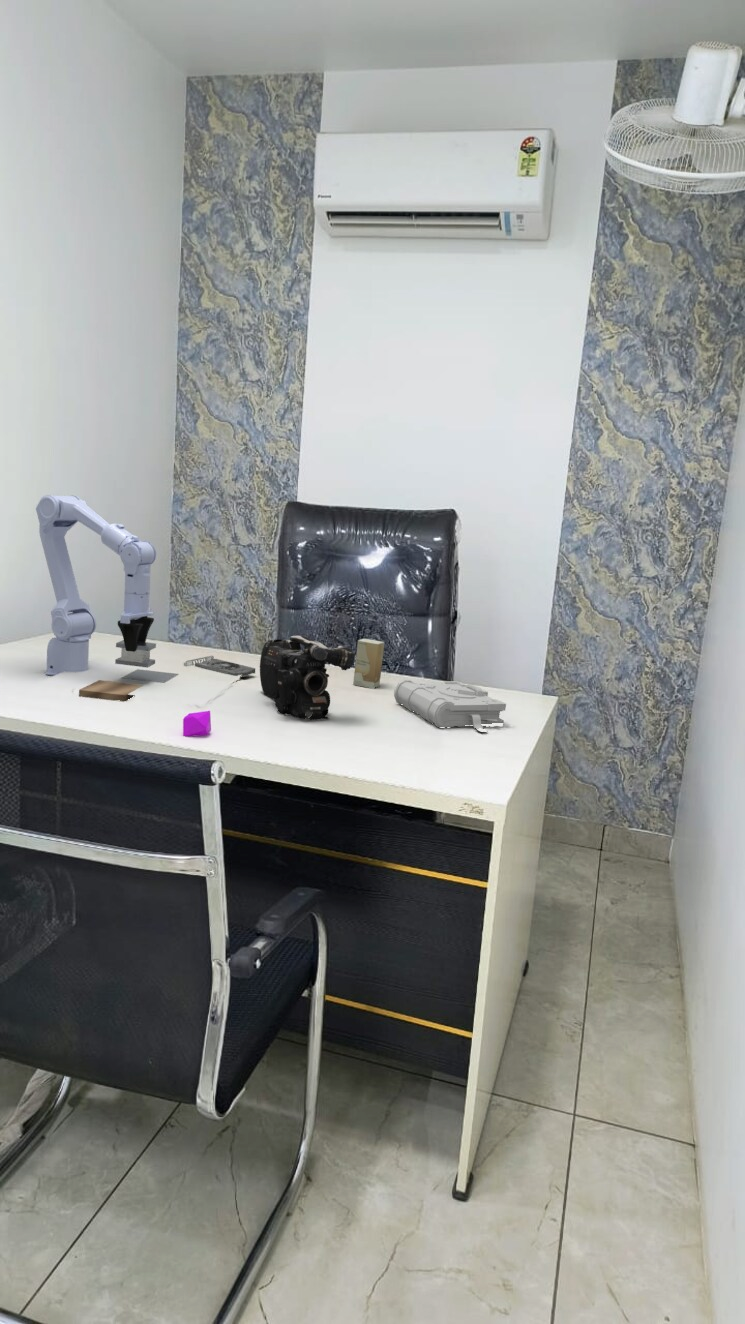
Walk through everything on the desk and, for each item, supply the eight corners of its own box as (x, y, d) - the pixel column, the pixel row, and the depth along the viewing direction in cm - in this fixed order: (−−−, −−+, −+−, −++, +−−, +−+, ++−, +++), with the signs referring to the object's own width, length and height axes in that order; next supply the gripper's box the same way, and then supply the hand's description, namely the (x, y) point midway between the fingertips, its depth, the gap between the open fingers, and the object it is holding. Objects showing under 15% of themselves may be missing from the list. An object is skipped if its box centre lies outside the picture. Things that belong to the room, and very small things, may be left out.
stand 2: (120, 683, 225) (120, 677, 225) (137, 674, 236) (137, 669, 236) (163, 688, 224) (164, 682, 224) (179, 679, 235) (179, 673, 234)
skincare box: (352, 685, 246) (356, 640, 243) (358, 682, 249) (362, 637, 247) (374, 689, 243) (378, 643, 241) (380, 686, 247) (384, 641, 245)
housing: (115, 663, 220) (116, 643, 219) (123, 659, 225) (124, 639, 224) (147, 667, 219) (148, 646, 218) (155, 663, 224) (156, 643, 223)
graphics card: (180, 660, 244) (211, 654, 254) (180, 674, 244) (211, 667, 254) (229, 672, 235) (259, 665, 245) (228, 687, 236) (258, 679, 246)
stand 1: (78, 696, 211) (79, 689, 210) (99, 686, 221) (99, 680, 221) (125, 701, 209) (125, 695, 209) (143, 691, 220) (143, 685, 220)
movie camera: (363, 718, 209) (365, 642, 206) (290, 726, 201) (291, 647, 198) (306, 691, 236) (307, 623, 233) (240, 697, 228) (239, 627, 224)
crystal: (186, 729, 192) (187, 708, 191) (212, 732, 192) (213, 710, 191) (180, 736, 187) (181, 714, 186) (207, 739, 187) (208, 717, 186)
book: (444, 736, 204) (448, 703, 203) (391, 704, 229) (394, 674, 228) (518, 735, 212) (522, 703, 211) (459, 704, 237) (462, 675, 236)
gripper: (142, 597, 211) (140, 656, 214) (163, 591, 225) (161, 645, 228) (112, 594, 212) (110, 652, 215) (136, 588, 226) (134, 642, 229)
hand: (135, 649), depth 221 cm, fingers closed on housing, 5 cm apart
